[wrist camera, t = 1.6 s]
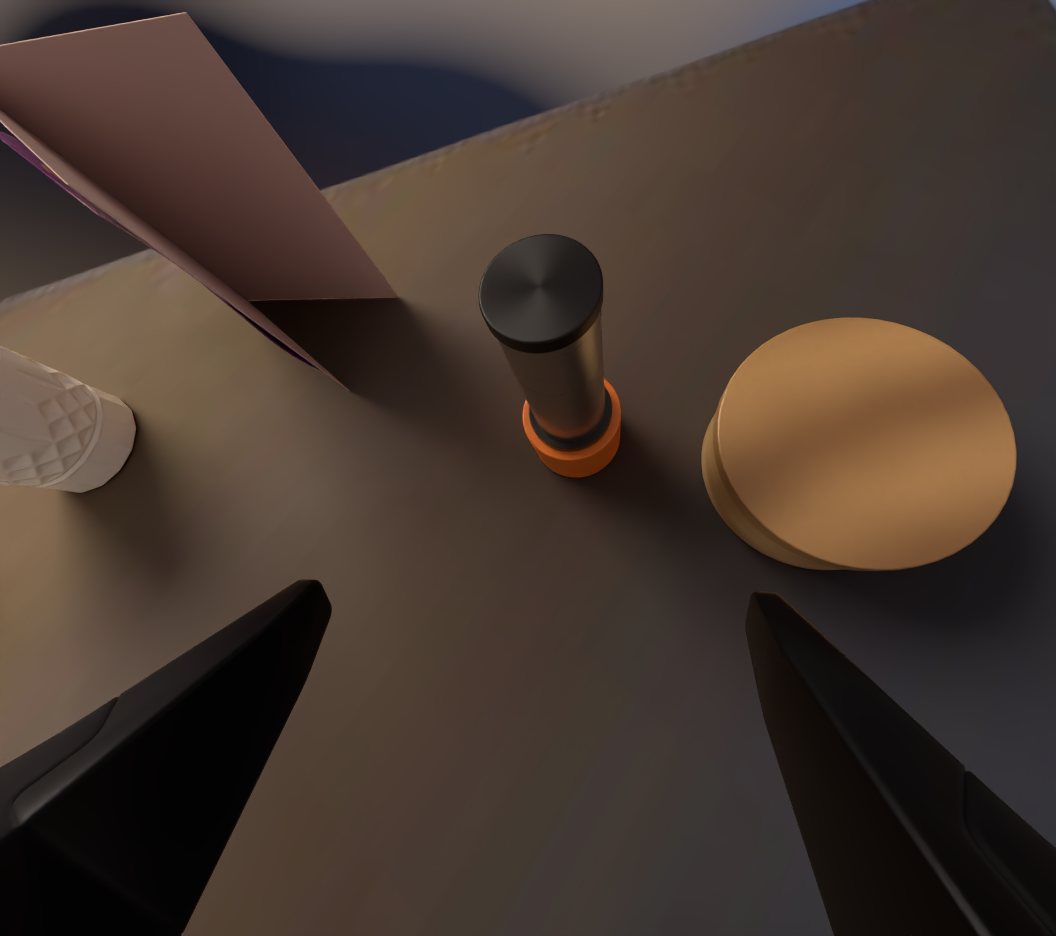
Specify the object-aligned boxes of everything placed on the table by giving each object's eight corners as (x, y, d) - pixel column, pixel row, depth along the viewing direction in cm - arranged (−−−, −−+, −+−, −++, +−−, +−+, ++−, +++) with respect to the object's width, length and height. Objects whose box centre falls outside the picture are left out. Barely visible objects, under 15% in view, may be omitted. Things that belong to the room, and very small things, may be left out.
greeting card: (237, 309, 31) (-85, 73, 17) (310, 231, 32) (60, -62, 17) (340, 401, 28) (46, 206, 13) (420, 312, 28) (221, 32, 14)
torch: (588, 494, 23) (560, 396, 11) (518, 448, 25) (425, 315, 13) (637, 423, 24) (661, 254, 12) (565, 382, 25) (520, 192, 13)
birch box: (989, 505, 20) (1091, 483, 16) (780, 614, 20) (824, 622, 16) (836, 331, 23) (886, 274, 19) (658, 429, 24) (668, 394, 19)
